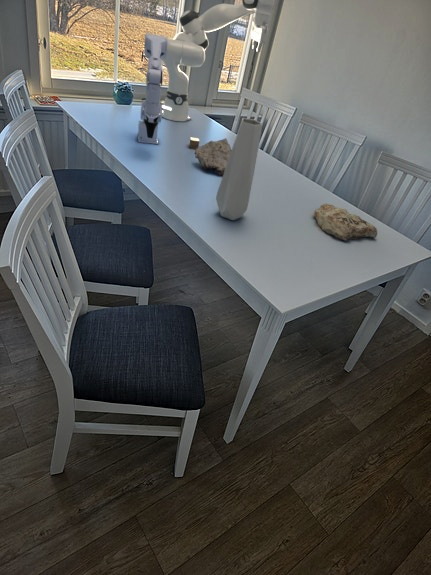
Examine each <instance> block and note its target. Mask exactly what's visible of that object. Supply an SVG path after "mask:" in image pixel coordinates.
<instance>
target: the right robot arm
mask: <svg viewBox="0 0 431 575" xmlns="http://www.w3.org/2000/svg"><path fill="white" fill-rule="evenodd" d="M275 1H276V0H241V2H242V3H240V4H230V3H219V4H216V5H214V6H211V7H210V8H208V9H207V10H206V11H204V12H203V13H202V14H201V15H200V12H199V11H195V10H193V9H190V10H185V11H184V12H182V13H181V15H180V17H179V24H180V27H181V28H182V31H183V32H182V31H181V32H178V33H176V34H175V36H174V37H173V38H168V44H167V52H166V57H165V59H163V60H162V63H163V64H164V65H165V67H166V71H167V75H168V76H167V77H168V86H167V89H166V94H165V96H166V97H165V99H164V100H161V101H160V104H161V105H162V118H164V119H166V120H168V121H173V122H186V121H190V120H191V117H190V116H189V109H190V104H189V103H188V102H187V101H188V97H189V96H188V95H189V94H188V88H189V77H188V75H187V74H186V73H185V72H183V71H182V70H181V69H180V67H179V66H184V67H189V68H199V67H200V68H201V66H203V65H204V63H205V60H206V50H207V49H208V47H209V44H210V43H209V39H208V37H207V34H206V33H210V32H214V31H217V30H219V29H222V28H224V27H225V26H227V25H229V24H231V23H233V22H235V21H237V20H241V19H243V18H245V17H248V16H250V15H252V14H254V17H252V20H251V22H252V25H251V32H250V38H251V39H252V47H251V48H252V50H256V52H257V53H261V51H262V50H261V49H262V47H263V44H264V45H265V44H266V43H267V41H268V36H269V27H270V25H271V20H272V16H273V9H274V7H275ZM257 43H258V45H257ZM144 100H146V97H143V98H141V101H144Z"/></svg>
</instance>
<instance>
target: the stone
mask: <svg viewBox="0 0 431 575" xmlns="http://www.w3.org/2000/svg"><path fill="white" fill-rule="evenodd" d="M313 216H314V219H315V220H316V223H317V226H318V227H319V228H321V230H322V231H324V232H325V233H326V234H329V235H330V236H334V237H335V238H336V239H339V240H342V241H344V242H346V241H347V240H352V239H353V240H354V239H355V240H356V239H360V238H362V237H363V238H366V237H367V238H371V239H375V238H377V236H378V229H377V227H376V226H374V225H373V224H372V223H370V222H368V221H367V220H364V219H362V217H361V216H358V214H357V215H356V214H355V213H353V214H351V213H349V212H348V209H345V208H340V207H338V206H334V205H333V204H329V203H323V204H321V205H320V207H319V209H316V210H314V214H313Z"/></svg>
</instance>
